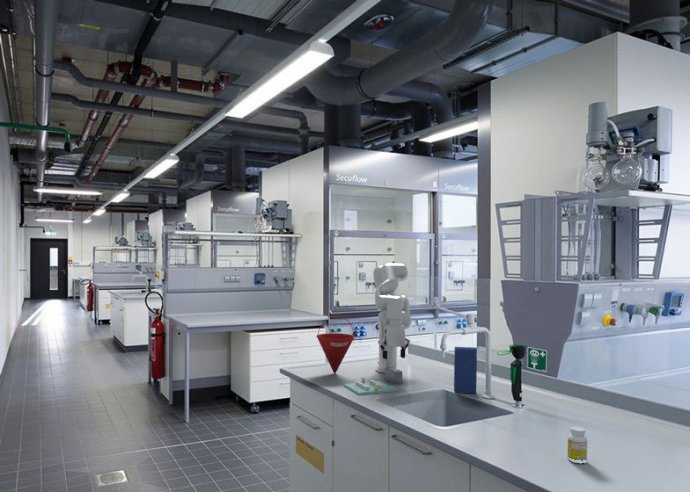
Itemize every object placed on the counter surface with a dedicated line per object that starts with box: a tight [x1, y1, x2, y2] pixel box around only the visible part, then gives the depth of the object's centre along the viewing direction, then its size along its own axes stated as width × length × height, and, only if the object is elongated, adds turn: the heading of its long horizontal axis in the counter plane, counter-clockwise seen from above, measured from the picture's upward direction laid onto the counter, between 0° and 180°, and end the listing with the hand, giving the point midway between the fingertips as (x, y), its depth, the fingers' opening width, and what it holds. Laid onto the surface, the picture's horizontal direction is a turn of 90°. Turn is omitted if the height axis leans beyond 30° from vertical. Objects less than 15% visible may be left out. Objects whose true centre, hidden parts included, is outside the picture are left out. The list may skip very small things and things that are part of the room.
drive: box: [384, 367, 403, 385], centre depth 245 cm, size 10×4×6 cm, turn 24°
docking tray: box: [343, 376, 396, 396], centre depth 231 cm, size 16×18×4 cm
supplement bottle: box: [567, 426, 588, 461], centre depth 152 cm, size 5×5×10 cm
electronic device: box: [453, 346, 478, 395], centre depth 229 cm, size 10×5×20 cm, turn 84°
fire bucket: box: [316, 314, 356, 374], centre depth 260 cm, size 22×20×30 cm
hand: (393, 358), depth 245 cm, fingers open, 9 cm apart
